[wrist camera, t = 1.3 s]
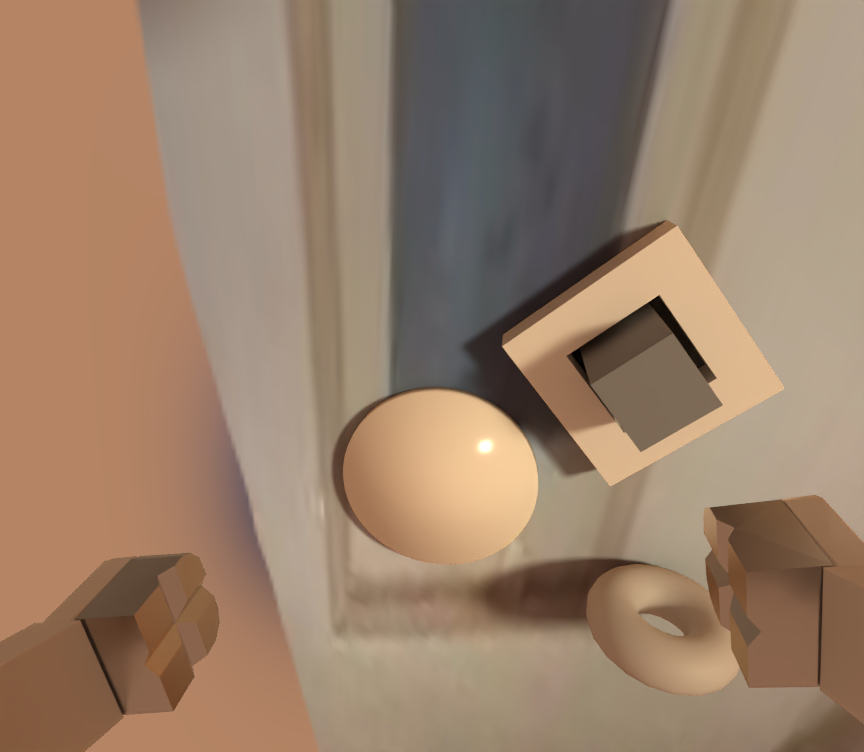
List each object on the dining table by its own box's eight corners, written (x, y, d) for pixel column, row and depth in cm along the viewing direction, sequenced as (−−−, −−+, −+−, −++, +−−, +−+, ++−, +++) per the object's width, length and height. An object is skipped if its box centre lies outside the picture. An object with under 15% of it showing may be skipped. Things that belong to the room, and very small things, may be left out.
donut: (574, 580, 47) (588, 689, 37) (584, 543, 45) (601, 647, 36) (708, 606, 46) (756, 724, 37) (722, 569, 45) (776, 681, 35)
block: (646, 300, 38) (673, 333, 32) (689, 361, 39) (723, 405, 33) (578, 345, 40) (590, 385, 34) (621, 402, 41) (640, 452, 35)
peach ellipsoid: (457, 348, 41) (456, 353, 40) (576, 498, 44) (578, 506, 43) (308, 454, 46) (304, 460, 45) (425, 584, 48) (423, 592, 48)
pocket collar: (667, 220, 37) (677, 225, 34) (768, 373, 39) (784, 388, 37) (502, 334, 40) (502, 346, 38) (605, 467, 43) (610, 486, 41)
